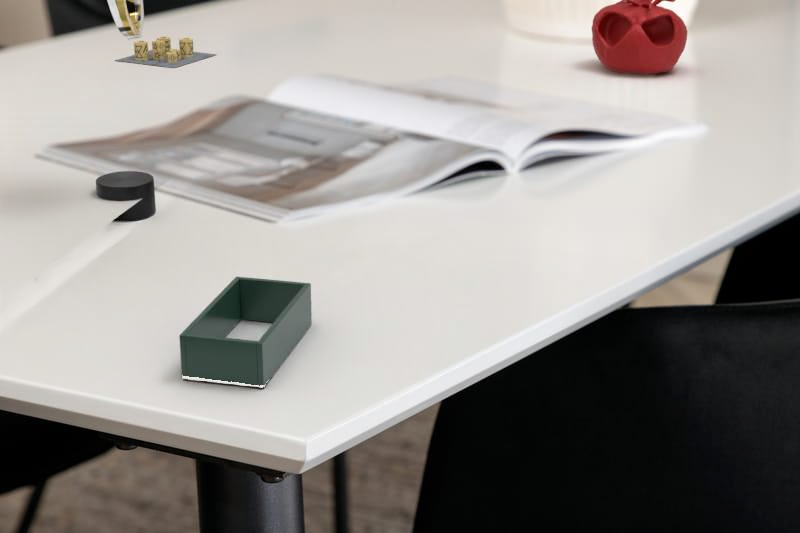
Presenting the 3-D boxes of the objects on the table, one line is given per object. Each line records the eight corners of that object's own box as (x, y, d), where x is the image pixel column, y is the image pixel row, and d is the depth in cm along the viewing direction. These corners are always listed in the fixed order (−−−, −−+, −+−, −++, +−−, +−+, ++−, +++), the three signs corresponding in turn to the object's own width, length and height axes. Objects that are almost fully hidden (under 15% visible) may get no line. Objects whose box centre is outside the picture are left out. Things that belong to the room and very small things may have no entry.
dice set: (132, 59, 139) (131, 42, 138) (160, 51, 143) (159, 34, 142) (169, 64, 136) (168, 46, 136) (197, 55, 141) (196, 38, 140)
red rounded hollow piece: (599, 57, 142) (605, -28, 138) (690, 63, 138) (697, -23, 135) (580, 74, 133) (585, -15, 129) (676, 82, 130) (684, -10, 126)
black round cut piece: (88, 219, 88) (85, 185, 87) (113, 202, 92) (110, 168, 91) (141, 223, 87) (139, 189, 86) (164, 206, 91) (162, 172, 90)
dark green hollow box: (181, 379, 65) (179, 335, 64) (238, 316, 72) (236, 276, 71) (263, 389, 64) (262, 343, 63) (311, 324, 71) (310, 283, 70)
